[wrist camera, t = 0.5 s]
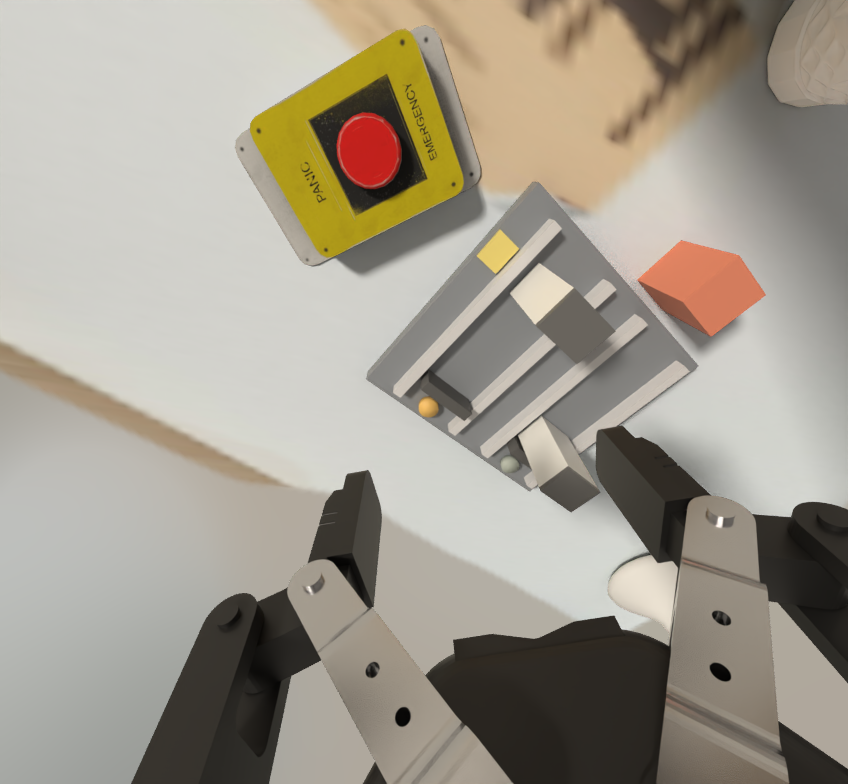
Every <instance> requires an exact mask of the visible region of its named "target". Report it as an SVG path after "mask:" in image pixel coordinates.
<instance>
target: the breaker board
mask: <svg viewBox="0 0 848 784" xmlns="http://www.w3.org/2000/svg"><path fill="white" fill-rule="evenodd" d="M538 263H540V264H541V265H543V266H544V267H546V268H547V269H548V270H550V271H551V272H553V273H554V274H555V275H557V276H558V277H559V278H561V279H562V280H564V281H565V282H566V283H568V284H569V285H571V286H572V287H573V288H575V289H576V290H577V291H578V292H579V293H580V294H581V295H582V296H583V297H584V298H585V299H586V300H587V301H588V302H589V303H590V304H591V306H592V307H593V308H594V309H595V310H596V311H597V312H598V313H599V314H600V315H601V316H602V317H603V318H604V319H605V320H606V321H607V322H608V323H609V324H610V325H611V327H612V328H613V329H614V330H615V331H616V332H614V333H613V334H612V335H611V336H610V337H609V338H607V339H606V340H605V341H604V342H603V343H602V344H600V345H599V346H598V347H597V348H596V349H595V350H593V351H592V352H591V353H590V354H589V355H588V356H586V357H585V358H584V359H583V360H582V361H581V362H579V363H578V364H576V363H575V362H574V361H573V360H572V359H571V358H570V357H568V356H567V355H566V354H565V353H564V352H563V351H562V350H561V349H560V348H559V347H558V346H557V345H556V344H555V343H553V342H552V341H551V340H550V339H549V338H548V337H547V336H546V335H545V334H544V333H543V332H542V331H541V330H540V329H538V328H537V326H536V325H535V324H534V323H533V322H532V320H531V319H530V318H529V317H528V315H527V314H526V313H525V312H524V310H523V309H522V308H521V307H520V305H519V304H518V303H517V302H516V300H515V299H514V298H513V297H512V295H511V294H510V292H511V291H512V290H513V289H514V288H515V287H516V286H517V285H518V284H519V282H520V281H521V280H522V279H523V278H524V277H525V276H526V275H527V274H528V273H529V272H530V271H531V270H532V269H533V268H534V267H535V266H536V265H537V264H538ZM697 367H698V365H697V364H696V362H695V361H694V360H693V359H692V358H691V357H690V355H689V354H688V353H687V352H686V351H685V350H684V349H683V347H682V346H681V345H680V344H679V343H678V342H677V341H676V339H675V338H674V337H673V336H672V335H671V334H670V332H669V331H668V330H667V329H666V328H665V327H664V326H663V324H662V323H661V322H660V321H659V320H658V319H657V317H656V316H655V315H654V314H653V313H652V312H651V311H650V309H649V308H648V307H647V306H646V305H645V304H644V303H643V301H642V300H641V299H640V298H639V297H638V296H637V294H636V293H635V292H634V291H633V290H632V289H631V288H630V286H629V285H628V284H627V283H626V282H625V281H624V280H623V278H622V277H621V276H620V275H619V274H618V273H617V271H616V270H615V269H614V268H613V267H612V266H611V265H610V263H609V262H608V261H607V260H606V259H605V258H604V257H603V255H602V254H601V253H600V252H599V251H598V250H597V248H596V247H595V246H594V245H593V244H592V243H591V242H590V240H589V239H588V238H587V237H586V236H585V235H584V233H583V232H582V231H581V230H580V229H579V228H578V227H577V225H576V224H575V223H574V222H573V221H572V220H571V219H570V217H569V216H568V215H567V214H566V213H565V212H564V210H563V209H562V208H561V207H560V206H559V205H558V204H557V202H556V201H555V200H554V199H553V198H552V197H551V196H550V194H549V193H548V192H547V191H546V190H545V189H544V187H543V186H542V185H541V184H540V183H539V182H532V183H531V185H530V186H529V187H528V188H527V189H526V190H525V191H524V193H523V194H522V195H521V196H520V197H519V198H518V200H517V201H516V202H515V203H514V204H513V205H512V206H511V208H510V209H509V210H508V211H507V212H506V213H505V214H504V216H503V217H502V218H501V219H500V220H499V221H498V222H497V224H496V225H495V226H494V227H493V228H492V229H491V231H490V232H489V233H488V234H487V235H486V236H485V237H484V239H483V240H482V241H481V242H480V243H479V244H478V245H477V247H476V248H475V249H474V250H473V251H472V252H471V254H470V255H469V256H468V257H467V258H466V259H465V260H464V262H463V263H462V264H461V265H460V266H459V267H458V268H457V270H456V271H455V272H454V273H453V274H452V275H451V277H450V278H449V279H448V280H447V281H446V282H445V283H444V285H443V286H442V287H441V288H440V289H439V290H438V291H437V293H436V294H435V295H434V296H433V297H432V298H431V299H430V301H429V302H428V303H427V304H426V305H425V306H424V308H423V309H422V310H421V311H420V312H419V313H418V314H417V316H416V317H415V318H414V319H413V320H412V321H411V322H410V324H409V325H408V326H407V327H406V328H405V329H404V331H403V332H402V333H401V334H400V335H399V336H398V337H397V339H396V340H395V341H394V342H393V343H392V344H391V345H390V347H389V348H388V349H387V350H386V351H385V352H384V354H383V355H382V356H381V357H380V358H379V359H378V360H377V362H376V363H375V364H374V365H373V366H372V367H371V368H370V370H369V371H368V373H367V378H366V380H368V381H369V382H371V383H372V384H374V385H375V386H377V387H378V388H380V389H381V390H382V391H384V392H385V393H387V394H388V395H390V396H391V397H393V398H394V399H396V400H397V401H399V402H400V403H401V404H403V405H404V406H406V407H407V408H409V409H410V410H412V411H413V412H415V413H416V414H417V415H419V416H420V417H422V418H423V419H425V420H426V421H428V422H429V423H431V424H432V425H433V426H435V427H436V428H438V429H439V430H441V431H442V432H444V433H445V434H447V435H448V436H449V437H451V438H452V439H454V440H455V441H457V442H458V443H460V444H461V445H463V446H464V447H465V448H467V449H468V450H470V451H471V452H473V453H474V454H476V455H477V456H479V457H480V458H481V459H483V460H484V461H486V462H487V463H489V464H490V465H492V466H493V467H495V468H496V469H498V470H499V471H500V472H502V473H503V474H505V475H506V476H508V477H509V478H511V479H512V480H514V481H515V482H516V483H518V484H519V485H521V486H522V487H524V488H525V489H527V490H528V491H531V490H532V489H534V488H535V487H536V486H538V484H537V481H536V479H535V476H534V474H533V471H532V469H531V466H530V464H529V461H528V459H527V456H526V454H525V451H524V449H523V446H522V444H521V441H520V439H519V437H518V434H520V433H521V432H522V431H523V430H524V429H526V428H527V427H528V426H529V425H530V424H532V423H533V422H534V421H535V420H536V419H538V418H539V417H540V416H541V415H542V416H543V417H544V418H545V419H546V420H548V421H549V422H550V423H551V424H553V425H554V426H555V427H556V428H558V429H559V430H560V431H561V432H562V433H564V434H565V435H566V436H567V437H568V438H569V440H570V442H571V443H572V445H573V447H574V448H575V450H576V452H577V453H578V455H579V454H581V453H582V452H583V451H585V450H586V449H588V448H589V447H590V446H592V445H593V444H594V443H596V434H597V431H598V430H600V429H605V428H611V427H616V426H618V425H620V424H621V423H623V422H624V421H625V420H627V419H628V418H629V417H631V416H632V415H633V414H635V413H636V412H637V411H639V410H640V409H641V408H643V407H644V406H645V405H647V404H648V403H649V402H651V401H652V400H654V399H655V398H656V397H658V396H659V395H660V394H662V393H663V392H664V391H666V390H667V389H668V388H670V387H671V386H672V385H674V384H675V383H676V382H678V381H679V380H680V379H682V378H683V377H685V376H686V375H687V374H689V373H690V372H691V371H693V370H694V369H695V368H697Z"/></svg>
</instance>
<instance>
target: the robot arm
mask: <svg viewBox="0 0 848 784" xmlns="http://www.w3.org/2000/svg"><path fill="white" fill-rule="evenodd" d="M596 471H597V475H598V478H599V480H600V482H601V484H602V485H603V487H604V488H605V490H606V491H607V492H608V494H609V495H610V497H611V498H612V499H613V501H614V502H615V504H616V505H617V507H618V508H619V509H620V511H621V512H622V514H623V515H624V516H625V518H626V519H627V521H628V522H629V524H630V525H631V526H632V528H633V529H634V531H635V532H636V533H637V535H638V536H639V538H640V539H641V541H642V542H643V543H644V545H645V546H646V548H647V549H648V550H649V552H650V553H651V555H652V556H653V558H654V559H655V560H656V562H657V563H663V562H669V561H673V562H674V563H675V565H676V566H677V567H678V571H677V577H676V585H675V593H674V601H673V609H672V617H671V625H670V633H669V640H668V645H666V644H664V643H662V642H660V641H658V640H656V639H654V638H651V637H649V636H646V635H643V634H640V633H637V632H633V631H628V630H622V629H621V628H620V626H619V624H618V622H617V620H616V618H615V616H608V617H601V618H595V619H588V620H582V621H575V622H572V623H570V624H568V625H566V626H564V627H561V628H559V629H557V630H555V631H553V632H551V633H549V634H546V635H544V636H542V637H540V638H537V639H530V638H521V637H513V636H504V635H495V634H489V635H482V636H476V637H470V638H463V639H457V640H453V643H454V653H455V654H453V655H451V656H449V657H447V658H445V659H444V660H442V661H441V662H439V663H438V664H437V665H436V666H434V667H433V668H432V669H431V670H430V671H429V672H428V673H427V674H426V675H424V673H423V672H422V671H421V670H420V668H419V667H418V666H417V664H416V663H415V662H414V660H413V659H412V658H411V657H410V655H409V654H408V653H407V651H406V650H405V649H404V648H403V646H402V645H401V644H400V642H399V641H398V640H397V638H396V637H395V636H394V635H393V634H392V632H391V631H390V630H389V628H388V627H387V625H386V624H385V623H384V622H383V620H382V619H381V618H380V616H379V615H378V614H377V613H376V611H375V610H374V609H373V608H372V607H374V596H375V585H376V575H377V565H378V554H379V543H380V532H381V522H382V514H381V507H380V502H379V499H378V496H377V493H376V490H375V487H374V484H373V480H372V477H371V474H370V472H369V471H368V470H366V471H361V472H355V473H349V474H347V475H346V479H345V483H344V487H343V489H342V490H336V491H334V492H333V493H332V495H331V496H330V497H329V498H328V500H327V501H326V503H325V506H324V510H323V513H322V517H321V520H320V523H319V525H320V526H319V527H318V530H317V534H316V537H315V540H314V544H313V547H312V550H311V554H310V557H309V561H308V564H306V565H304V566H303V567H302V568H300V569H299V570H298V571H297V572H296V573H295V574H294V576H293V577H292V579H291V580H290V582H289V585H288V587H287V588H286V589H284V590H282V591H280V592H278V593H276V594H274V595H271V596H269V597H267V598H265V599H263V600H261V601H258V602H257V601H256V599H255V598H254V597H253V596H252V595H251V594H247V593H242V594H236V595H234V596H231V597H229V598H227V599H225V600H224V601H223V602H221V603H220V604H219V605H217V606H216V608H214V609H213V610H212V611H211V613H210V614H209V615H208V617H207V618H206V620H205V622H204V624H203V626H202V628H201V630H200V632H199V635H198V637H197V639H196V641H195V644H194V646H193V648H192V650H191V652H190V654H189V657H188V659H187V661H186V663H185V666H184V668H183V670H182V672H181V675H180V677H179V679H178V681H177V683H176V686H175V688H174V690H173V692H172V695H171V697H170V699H169V701H168V703H167V705H166V708H165V710H164V712H163V714H162V716H161V719H160V721H159V723H158V725H157V728H156V730H155V732H154V734H153V736H152V739H151V741H150V743H149V745H148V748H147V750H146V752H145V755H144V756H143V759H142V761H141V763H140V765H139V767H138V770H137V772H136V774H135V776H134V779H133V781H132V783H131V784H269V781H270V775H271V771H272V766H273V761H274V756H275V752H276V747H277V742H278V737H279V732H280V728H281V723H282V718H283V713H284V708H285V703H286V698H287V694H288V689H289V684H290V679H291V676H292V675H294V674H296V673H298V672H300V671H302V670H303V669H305V668H307V667H309V666H311V665H313V664H315V663H317V662H319V661H321V660H322V662H323V664H324V666H325V668H326V670H327V672H328V673H329V675H330V677H331V679H332V681H333V683H334V685H335V687H336V689H337V690H338V692H339V694H340V696H341V698H342V699H343V702H344V703H345V705H346V707H347V709H348V711H349V713H350V715H351V717H352V719H353V720H354V722H355V724H356V726H357V728H358V730H359V732H360V734H361V736H362V737H363V739H364V741H365V743H366V745H367V747H368V749H369V751H370V753H371V754H372V756H373V758H374V760H375V763H374V765H373V767H372V768H371V770H370V772H369V774H368V775H367V777H366V779H365V781H364V783H363V784H848V769H847V768H845V767H844V766H843V765H841V764H840V763H838V762H837V761H835V760H834V759H833V758H831V757H830V756H828V755H827V754H825V753H824V752H822V751H821V750H819V749H818V748H817V747H815V746H814V745H812V744H811V743H809V742H808V741H806V740H805V739H804V738H802V737H800V736H799V735H798V734H796V733H795V732H793V731H792V730H790V729H789V728H788V727H786V726H785V725H783V724H782V723H780V722H779V721H778V712H777V700H776V689H775V676H774V663H773V652H772V639H771V627H770V615H769V602H768V601H771V602H778V603H779V605H780V606H781V607H782V608H783V609H784V610H785V611H786V612H787V614H788V615H789V616H790V617H791V618H792V620H794V622H795V623H796V624H797V625H798V626H799V628H800V629H801V630H802V631H803V632H804V633H805V634H806V636H808V638H809V639H810V640H811V641H812V643H813V644H814V645H815V646H816V647H817V648H818V649H819V651H820V652H821V653H822V654H823V655H824V656H825V658H827V660H828V661H829V662H830V663H831V664H832V666H834V668H835V669H836V670H837V671H838V672H839V674H840V675H841V676H842V677H843V678H844V679H845V681H846V682H847V683H848V510H847V509H845V508H842V507H839V506H835V505H832V504H827V503H821V502H806V503H801V504H799V505H797V506H796V507H795V508H794V509H793V512H792V516H791V517H779V516H766V515H755V514H751V513H750V512H749V511H748V510H747V509H746V508H745V507H743V506H742V505H740V504H738V503H736V502H734V501H732V500H729V499H727V498H723V497H718V496H711V495H710V494H709V493H708V492H707V491H706V490H705V489H704V488H703V487H701V486H700V485H699V484H698V483H697V482H696V481H695V480H694V479H693V478H692V477H691V476H690V475H689V474H688V473H687V472H686V471H684V470H683V469H682V468H681V467H680V466H678V465H677V463H676V462H675V461H674V460H673V459H672V458H671V457H668V455H667V454H666V453H665V452H664V451H663V450H662V449H661V448H660V447H659V446H658V445H656V444H654V443H652V442H650V441H648V440H646V439H644V438H642V437H641V438H634V437H633V436H632V435H631V434H630V433H629V432H628V431H627V430H626V429H625V428H624V427H623V426H616V427H611V428H605V429H600V430H598V431H597V434H596Z"/></svg>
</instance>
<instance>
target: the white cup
mask: <svg viewBox="0 0 848 784" xmlns="http://www.w3.org/2000/svg"><path fill="white" fill-rule="evenodd" d="M767 67H768V85H769V87H770V88H771V90H772V91H773V93H774V94H775V96H776V97H777V99H778V100H779V102H782V103H785V104H789V105H793V106H796V107H808V106H817V105H825V104H848V0H795V1H794V2H793V4H792V5H791V7H790V8H789V10H788V11H787V13H786V14H785V16H784V17H783V18H782V20H781V21H780V23H779V24H778V27H777V30H776V32H775V35H774V38H773V42H772V45H771V48H770V51H769V54H768V57H767Z"/></svg>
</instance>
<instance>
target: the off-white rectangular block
mask: <svg viewBox="0 0 848 784" xmlns="http://www.w3.org/2000/svg"><path fill="white" fill-rule="evenodd" d="M510 294H511V295H512V297H513V298H514V299H515V300H516V302H517V303H518V304H519V305H520V307H521V308H522V309H523V310H524V312H525V313H526V314H527V315H528V317H529V318H530V319H531V320H532V322H533V323H534V324H535V325H536V326H537V328H538V329H540V330H541V331H542V332H543V333H544V334H545V335H546V336H547V337H548V338H549V339H550V340H551V341H552V342H553V343H555V344H556V345H557V346H558V347H559V348H560V349H561V350H562V351H563V352H564V353H565V354H566V355H567V356H568V357H570V358H571V359H572V360H573V361H574V362H575V363H576V364H578V363H579V362H581V361H582V360H583V359H584V358H585V357H586V356H588V355H589V354H590V353H591V352H592V351H593V350H595V349H596V348H597V347H598V346H599V345H600V344H602V343H603V342H604V341H605V340H606V339H607V338H609V337H610V336H611V335H612V334H613V333H614V332H616V331H615V330H614V329H613V328H612V327H611V325H610V324H609V323H608V322H607V321H606V320H605V319H604V318H603V317H602V316H601V315H600V314H599V313H598V312H597V311H596V310H595V309H594V308H593V307H592V306H591V304H590V303H589V302H588V301H587V300H586V299H585V298H584V297H583V296H582V295H581V294H580V293H579V292H578V291H577V290H576V289H575V288H573V287H572V286H571V285H569V284H568V283H566V282H565V281H564V280H562V279H561V278H559V277H558V276H557V275H555V274H554V273H553V272H551V271H550V270H548V269H547V268H546V267H544V266H543V265H541V264H540V263H538V264H537V265H536V266H535V267H534V268H533V269H532V270H531V271H530V272H529V273H528V274H527V275H526V276H525V277H524V278H523V279H522V280H521V281H520V282H519V284H518V285H517V286H516V287H515V288H514V289H513V290H512V291H511V292H510Z"/></svg>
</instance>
